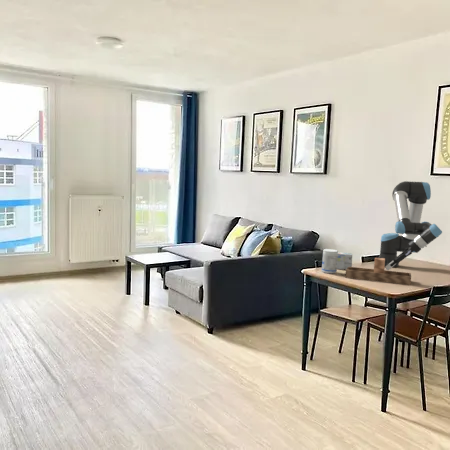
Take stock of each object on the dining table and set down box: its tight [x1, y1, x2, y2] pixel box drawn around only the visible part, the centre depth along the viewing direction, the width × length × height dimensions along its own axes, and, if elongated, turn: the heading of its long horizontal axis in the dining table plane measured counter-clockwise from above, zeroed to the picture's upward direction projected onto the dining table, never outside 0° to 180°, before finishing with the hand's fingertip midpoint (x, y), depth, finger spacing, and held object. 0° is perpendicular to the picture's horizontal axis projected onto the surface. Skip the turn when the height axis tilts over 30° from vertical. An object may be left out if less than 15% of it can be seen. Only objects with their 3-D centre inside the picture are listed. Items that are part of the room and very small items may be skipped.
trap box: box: [345, 266, 412, 286], centre depth 297 cm, size 38×12×5 cm, turn 70°
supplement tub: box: [321, 248, 339, 275], centre depth 312 cm, size 10×10×15 cm
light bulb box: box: [337, 252, 353, 271], centre depth 327 cm, size 11×7×11 cm, turn 84°
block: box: [373, 257, 386, 274], centre depth 296 cm, size 6×6×10 cm
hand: (386, 268), depth 295 cm, fingers closed
